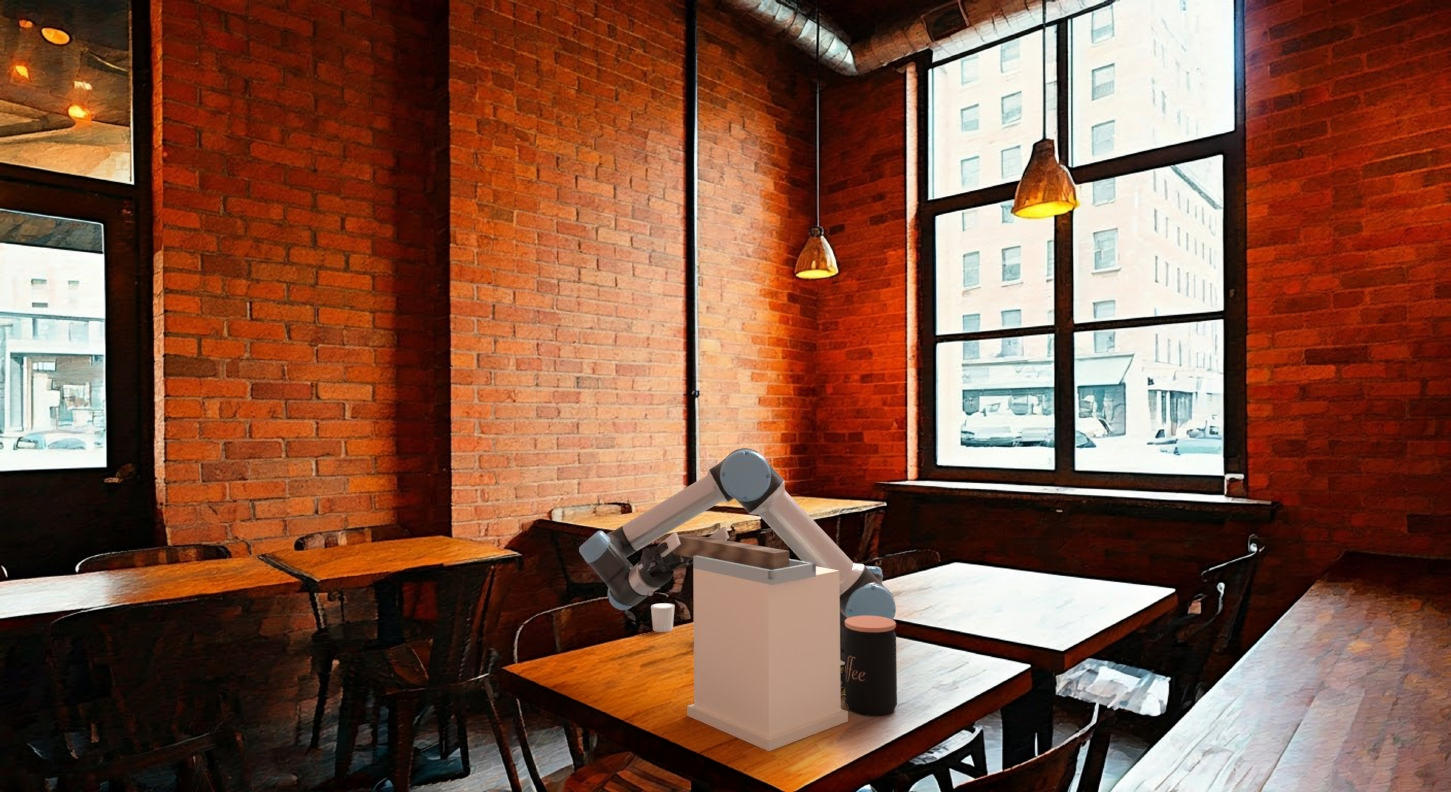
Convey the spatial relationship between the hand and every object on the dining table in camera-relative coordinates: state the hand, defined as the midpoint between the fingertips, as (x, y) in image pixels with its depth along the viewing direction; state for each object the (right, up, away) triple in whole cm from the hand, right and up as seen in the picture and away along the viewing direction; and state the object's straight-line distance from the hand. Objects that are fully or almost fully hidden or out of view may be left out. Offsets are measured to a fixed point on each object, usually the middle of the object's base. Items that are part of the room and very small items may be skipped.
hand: (702, 535), depth 173 cm
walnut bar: (+5, -5, -6) cm, 9 cm away
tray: (+10, -5, -12) cm, 16 cm away
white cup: (-13, -38, +60) cm, 72 cm away
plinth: (+13, -35, -10) cm, 39 cm away
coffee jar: (+35, -36, -4) cm, 50 cm away
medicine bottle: (+27, -36, +5) cm, 45 cm away
